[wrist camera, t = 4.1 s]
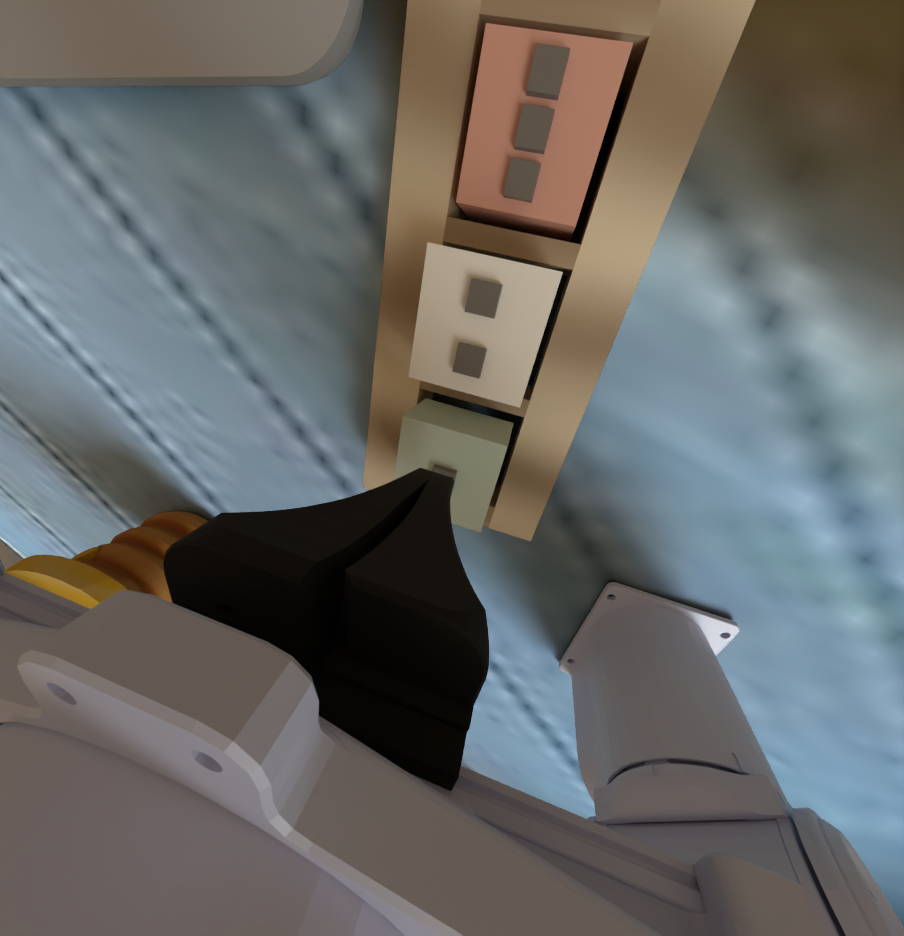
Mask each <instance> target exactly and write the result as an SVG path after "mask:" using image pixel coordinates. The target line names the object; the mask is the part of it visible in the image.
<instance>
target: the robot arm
mask: <svg viewBox="0 0 904 936" xmlns="http://www.w3.org/2000/svg"><path fill="white" fill-rule="evenodd" d="M454 483H455V481H454V479H453V478H452V477H449V476H445V475H442V474H439V473H436V472H433V471H430V470H426V469H423V468H418V469H416V470H414V471H412V472H410V473H408V474H406V475H404V476H402V477H400V478H398V479H395V480H393V481H391V482H389V483H387V484H384V485H382V486H379V487H377V488H374V489H372V490H369V491H366V492H364V493H361V494H358V495H355V496H352V497H348V498H345V499H341V500H337V501H333V502H328V503H323V504H318V505H313V506H308V507H302V508H294V509H286V510H276V511H264V512H239V513H221V514H219V515H217V516H216V517H214V518H213V519H211V520H209V521H208V522H206V523H205V524H203V525H202V526H200V527H198V528H197V529H195V530H194V531H192V532H190V533H189V534H187V535H186V536H184V537H183V538H181V539H179V540H178V541H176V542H175V543H173V544H172V545H171V546H170V547H169V548H168V549H167V550H166V553H165V557H164V561H163V566H164V574H165V578H166V582H167V585H168V589H169V592H170V596H171V600H172V603H171V602H169V601H166V600H164V599H161V598H159V597H156V596H154V595H151V594H146V593H141V592H136V591H132V590H120V591H118V592H116V593H115V594H113V595H112V596H110V597H108V598H107V599H105V600H104V601H102V602H101V603H99V604H98V605H96V606H95V607H93V608H92V609H90V608H87V607H85V606H83V605H80V604H78V603H76V602H73V601H71V600H68V599H66V598H64V597H61V596H59V595H57V594H54V593H52V592H50V591H47V590H45V589H42V588H40V587H38V586H35V585H33V584H31V583H28V582H26V581H24V580H21V579H19V578H17V577H14V576H12V575H9V574H7V573H5V568H4V566H3V564H2V562H1V560H0V936H904V927H903V926H902V924H901V922H900V921H899V919H898V918H897V916H896V914H895V913H894V911H893V909H892V908H891V906H890V904H889V903H888V901H887V900H886V898H885V896H884V895H883V893H882V892H881V890H880V888H879V887H878V885H877V884H876V882H875V880H874V879H873V877H872V876H871V874H870V873H869V871H868V869H867V868H866V866H865V865H864V863H863V862H862V860H861V859H860V857H859V856H858V854H857V853H856V851H855V850H854V848H853V847H852V845H851V844H850V843H849V841H848V840H847V839H846V837H845V836H844V835H843V833H842V832H841V831H839V830H838V829H837V828H835V827H834V826H832V825H831V824H829V823H828V822H826V821H825V820H823V819H821V818H820V817H819V816H818V815H817V814H816V813H815V812H814V811H813V810H811V809H810V808H794V809H793V808H792V806H791V805H790V804H789V803H788V801H787V799H786V797H785V795H784V793H783V791H782V789H781V787H780V785H779V783H778V781H777V779H776V777H775V775H774V773H773V771H772V769H771V767H770V765H769V763H768V761H767V759H766V757H765V755H764V753H763V751H762V749H761V747H760V745H759V743H758V741H757V739H756V737H755V735H754V733H753V731H752V729H751V727H750V725H749V723H748V721H747V718H746V716H745V714H744V712H743V710H742V708H741V706H740V704H739V702H738V700H737V698H736V696H735V694H734V692H733V690H732V688H731V686H730V684H729V682H728V680H727V678H726V676H725V674H724V672H723V670H722V668H721V666H720V664H719V662H718V660H717V658H716V655H717V654H718V653H719V652H720V651H721V650H722V649H723V648H724V647H725V646H726V645H727V644H728V643H729V642H730V641H731V640H732V639H733V638H734V637H735V636H736V635H737V634H738V632H739V631H740V629H739V627H738V625H737V624H736V622H734V621H732V620H729V619H726V618H723V617H720V616H717V615H714V614H711V613H708V612H705V611H702V610H699V609H696V608H693V607H690V606H686V605H683V604H680V603H677V602H674V601H671V600H668V599H665V598H662V597H659V596H656V595H653V594H650V593H647V592H644V591H641V590H638V589H635V588H632V587H629V586H625V585H622V584H619V583H616V582H610V583H608V584H607V585H606V586H605V588H604V589H603V591H602V593H601V594H600V596H599V598H598V599H597V601H596V603H595V604H594V606H593V608H592V609H591V611H590V612H589V614H588V616H587V617H586V619H585V621H584V622H583V624H582V626H581V627H580V629H579V631H578V632H577V634H576V636H575V637H574V639H573V641H572V642H571V644H570V646H569V647H568V649H567V650H566V652H565V654H564V655H563V657H562V659H561V660H560V662H559V669H560V670H561V671H562V672H564V673H567V674H570V675H572V688H573V701H574V714H575V727H576V741H577V754H578V762H579V767H580V771H581V775H582V778H583V780H584V783H585V785H586V787H587V790H588V792H589V794H590V796H591V798H592V799H593V801H594V804H595V814H596V816H593V817H589V818H587V819H585V818H583V817H580V816H578V815H576V814H573V813H571V812H569V811H566V810H564V809H562V808H559V807H557V806H554V805H552V804H550V803H547V802H545V801H543V800H540V799H538V798H536V797H533V796H531V795H528V794H526V793H524V792H521V791H519V790H517V789H514V788H512V787H510V786H507V785H505V784H503V783H500V782H498V781H495V780H493V779H491V778H488V777H486V776H484V775H481V774H479V773H477V772H474V771H472V770H470V769H467V768H465V767H462V766H461V761H462V756H463V750H464V745H465V739H466V734H467V731H468V729H469V727H470V723H471V717H472V712H473V706H474V703H475V701H476V699H477V697H478V695H479V693H480V690H481V688H482V686H483V684H484V682H485V679H486V676H487V672H488V666H489V638H488V627H487V619H486V611H485V609H484V607H483V606H482V604H481V602H480V601H479V599H478V597H477V595H476V594H475V592H474V590H473V588H472V586H471V584H470V582H469V580H468V577H467V575H466V573H465V570H464V568H463V565H462V562H461V560H460V557H459V554H458V551H457V547H456V544H455V539H454V535H453V529H452V522H451V512H450V498H451V494H452V490H453V487H454ZM610 594H612V595H613V596H608V595H610Z"/></svg>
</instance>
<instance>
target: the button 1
mask: <svg viewBox="0 0 904 936" xmlns="http://www.w3.org/2000/svg"><path fill="white" fill-rule="evenodd" d="M513 424H514V423H512V422H508V421H505V420H501V419H498V418H494V417H491V416H487V415H483V414H480V413H476V412H473V411H469V410H466V409H462V408H459V407H455V406H451V405H448V404H444V403H441V402H437V401H434V400H430V399H426V398H425V399H424V400H423V401H421V402H420V403H419V404H418V405H416V406H415V407H414V408H412V409H411V410H410V411H409V412H407V413H406V414H405V415H403V418H402V425H401V432H400V439H399V446H398V453H397V460H396V467H395V474H394V480H395V479H398V478H400V477H402V476H404V475H406V474H408V473H410V472H412V471H414V470H416V469H418V468H423V469H426V470H430V471H433V472H436V473H439V474H442V475H445V476H449V477H452V478H453V479H454V481H455V483H454V487H453V490H452V494H451V498H450V512H451V522H452V524H455V525H458V526H461V527H464V528H467V529H470V530H473V531H476V532H479V533H481V530H482V526H483V523H484V520H485V517H486V514H487V511H488V507H489V504H490V501H491V498H492V495H493V492H494V489H495V485H496V482H497V479H498V476H499V473H500V470H501V466H502V463H503V460H504V457H505V454H506V451H507V447H508V444H509V440H510V436H511V432H512V428H513Z"/></svg>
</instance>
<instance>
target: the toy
mask: <svg viewBox="0 0 904 936" xmlns="http://www.w3.org/2000/svg"><path fill="white" fill-rule="evenodd" d="M206 522H208V520H206V519H204V518H202V517H200V516H198V515H195V514H192V513H189V512H184V511H169V512H163V513H158V514H156V515H154V516H152V517H150V518H148V519H147V520H145V521H144V522H143V523H142V525H141V526H140V527H137V528H131V529H128V530H126V531H124V532H122V533H120V534H118V535H117V536H115V537H114V538H113V539H112V541H111V543H109V544H104V545H100V546H97V547H94V548H91V549H88V550H86V551H84V552H82V553H80V554H78V555H76V556H74V557H73V558H72V559H68V558H64V557H61V556H53V555H35V556H30V557H28V558H25V559H23V560H21V561H20V562H18V563H16V564H15V565H13V566H12V567H10V568H9V569H7V570H5V573H7V574H9V575H12V576H14V577H17V578H19V579H21V580H24V581H26V582H28V583H31V584H33V585H35V586H38V587H40V588H42V589H45V590H47V591H50V592H52V593H54V594H57V595H59V596H61V597H64V598H66V599H68V600H71V601H73V602H76V603H78V604H80V605H83V606H85V607H87V608H90V609H92V608H93V607H95V606H96V605H98V604H99V603H101V602H102V601H104V600H105V599H107V598H108V597H110V596H112V595H113V594H115V593H116V592H118V591H120V590H132V591H136V592H141V593H146V594H151V595H154V596H156V597H159V598H161V599H164V600H166V601H169V602H171V603H172V600H171V596H170V592H169V589H168V585H167V582H166V578H165V574H164V566H163V561H164V557H165V553H166V550H167V549H168V548H169V547H170V546H171V545H172V544H173V543H175V542H176V541H178V540H179V539H181V538H183V537H184V536H186V535H187V534H189V533H190V532H192V531H194V530H195V529H197V528H198V527H200V526H202V525H203V524H205V523H206Z"/></svg>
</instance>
